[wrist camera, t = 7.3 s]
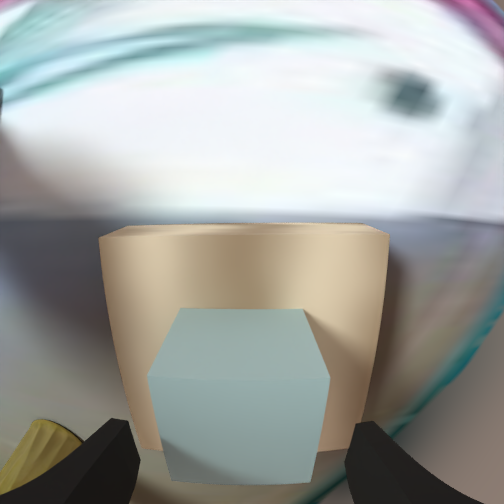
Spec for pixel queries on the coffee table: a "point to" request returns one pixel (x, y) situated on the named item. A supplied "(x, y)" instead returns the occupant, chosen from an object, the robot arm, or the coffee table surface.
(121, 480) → the robot arm
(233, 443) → the teal cube
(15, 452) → the vase
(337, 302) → the beech block
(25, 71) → the coffee table surface
